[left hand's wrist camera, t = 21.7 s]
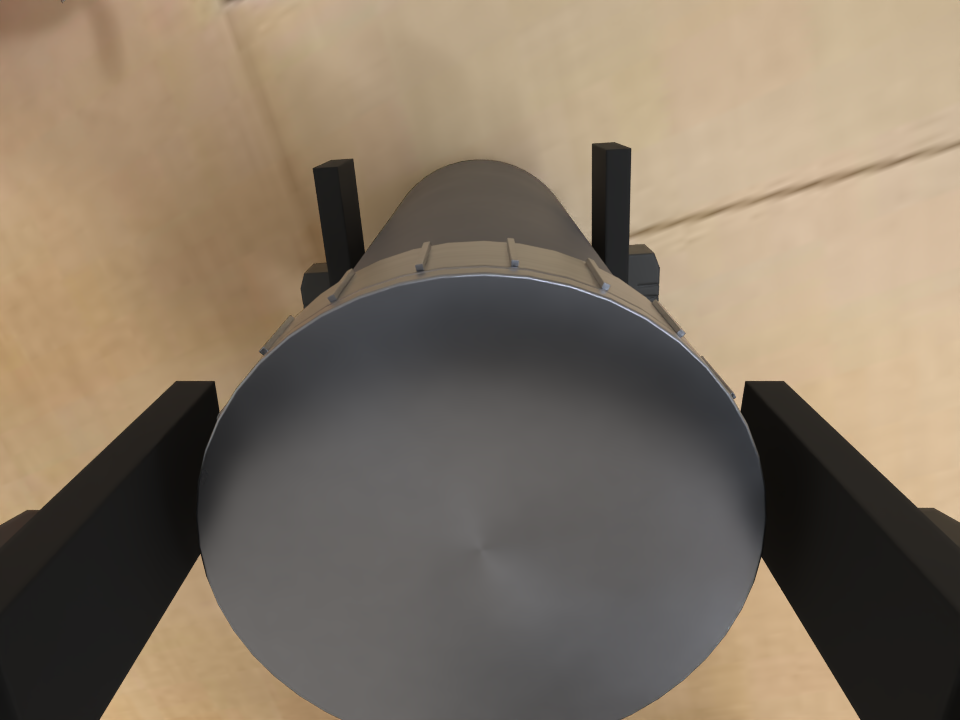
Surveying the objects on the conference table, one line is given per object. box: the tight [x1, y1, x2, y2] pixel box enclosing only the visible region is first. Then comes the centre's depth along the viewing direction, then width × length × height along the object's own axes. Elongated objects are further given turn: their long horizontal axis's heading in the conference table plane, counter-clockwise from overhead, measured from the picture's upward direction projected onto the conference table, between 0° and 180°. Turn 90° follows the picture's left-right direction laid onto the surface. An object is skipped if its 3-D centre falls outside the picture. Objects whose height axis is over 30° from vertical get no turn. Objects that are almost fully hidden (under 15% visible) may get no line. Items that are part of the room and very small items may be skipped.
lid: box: [196, 238, 767, 720], centre depth 11 cm, size 9×9×2 cm
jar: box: [353, 160, 612, 275], centre depth 20 cm, size 8×8×19 cm
